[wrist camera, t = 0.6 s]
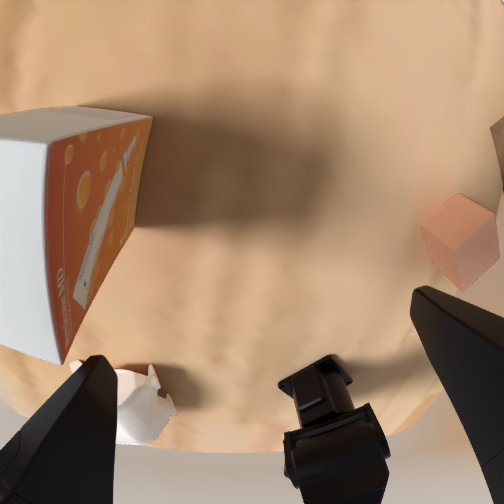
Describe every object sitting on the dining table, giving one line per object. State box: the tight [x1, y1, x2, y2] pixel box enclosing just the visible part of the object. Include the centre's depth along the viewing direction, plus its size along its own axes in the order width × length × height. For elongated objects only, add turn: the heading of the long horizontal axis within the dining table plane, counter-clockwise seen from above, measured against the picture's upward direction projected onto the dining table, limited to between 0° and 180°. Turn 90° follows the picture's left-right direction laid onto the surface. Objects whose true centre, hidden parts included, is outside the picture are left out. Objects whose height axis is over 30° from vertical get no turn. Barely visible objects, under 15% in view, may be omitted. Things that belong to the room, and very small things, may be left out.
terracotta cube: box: [419, 193, 500, 292], centre depth 21 cm, size 5×5×5 cm
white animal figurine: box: [70, 360, 177, 445], centre depth 25 cm, size 9×8×15 cm
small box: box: [0, 106, 153, 365], centre depth 12 cm, size 8×6×13 cm
